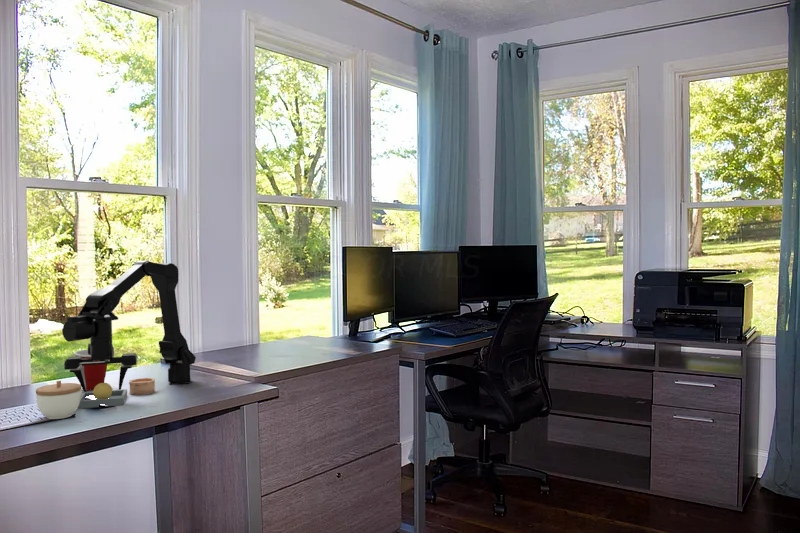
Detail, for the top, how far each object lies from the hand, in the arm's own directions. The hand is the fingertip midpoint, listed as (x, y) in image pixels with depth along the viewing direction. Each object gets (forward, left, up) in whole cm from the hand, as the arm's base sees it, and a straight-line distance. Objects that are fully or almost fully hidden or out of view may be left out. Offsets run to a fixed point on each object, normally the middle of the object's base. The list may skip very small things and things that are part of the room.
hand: (102, 390), depth 185 cm
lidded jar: (+9, +13, -4) cm, 16 cm away
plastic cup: (+5, -21, -4) cm, 22 cm away
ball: (0, 0, -3) cm, 3 cm away
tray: (0, 0, -3) cm, 3 cm away
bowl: (-10, -10, -3) cm, 15 cm away
